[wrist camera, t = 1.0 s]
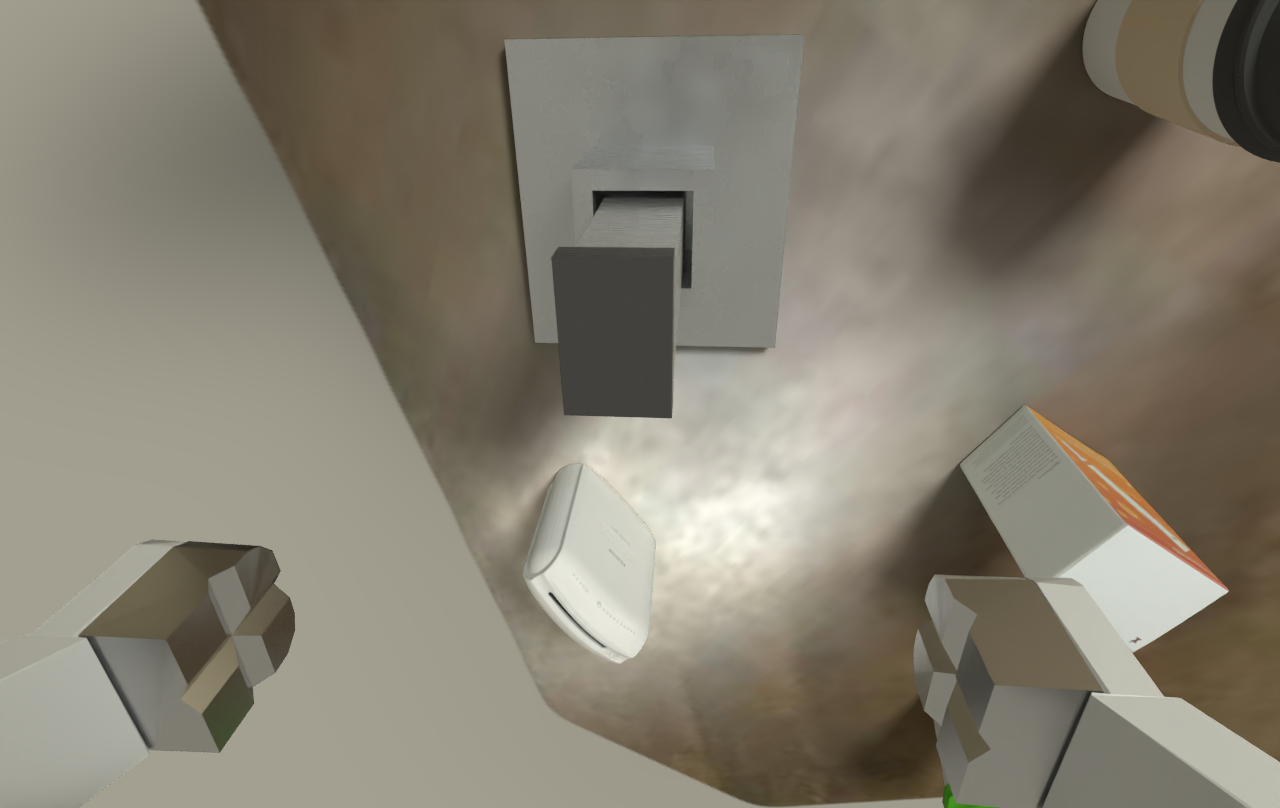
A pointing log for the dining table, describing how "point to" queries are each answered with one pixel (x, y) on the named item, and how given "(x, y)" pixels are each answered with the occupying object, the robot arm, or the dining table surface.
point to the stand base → (663, 162)
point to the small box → (1087, 528)
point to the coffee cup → (1193, 65)
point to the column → (622, 306)
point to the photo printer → (592, 565)
